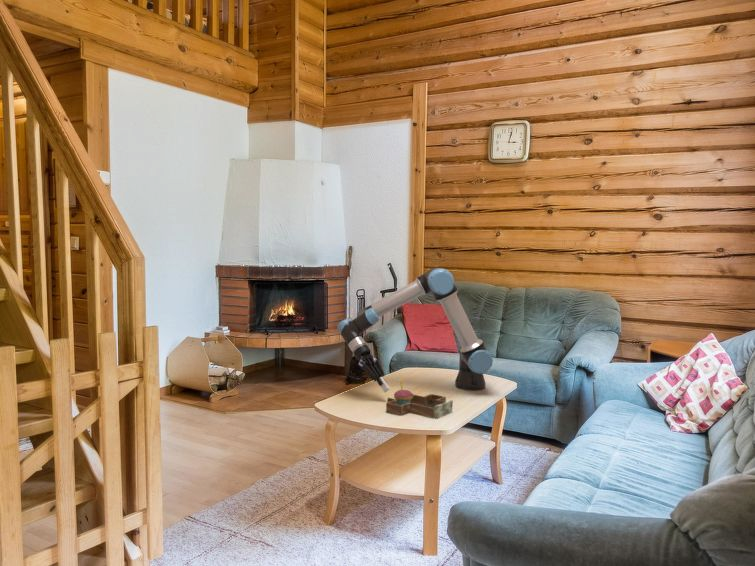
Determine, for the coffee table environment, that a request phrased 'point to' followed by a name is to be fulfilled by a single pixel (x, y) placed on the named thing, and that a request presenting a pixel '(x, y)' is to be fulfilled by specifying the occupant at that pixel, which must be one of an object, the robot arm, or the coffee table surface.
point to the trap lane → (421, 406)
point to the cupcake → (403, 396)
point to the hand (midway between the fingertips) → (387, 390)
